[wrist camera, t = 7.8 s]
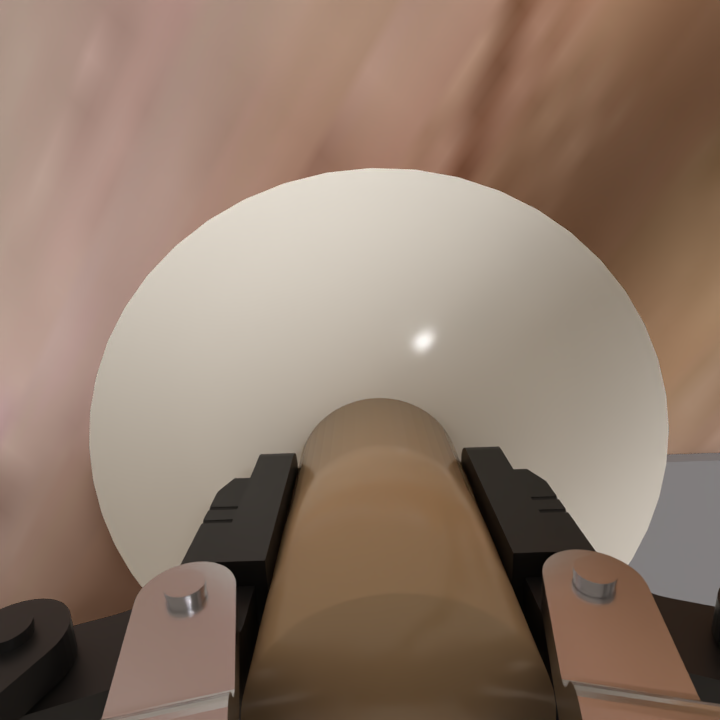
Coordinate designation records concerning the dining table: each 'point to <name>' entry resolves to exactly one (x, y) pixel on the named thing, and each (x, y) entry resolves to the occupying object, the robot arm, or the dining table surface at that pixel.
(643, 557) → the mat
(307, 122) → the dining table surface
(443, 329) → the lid
